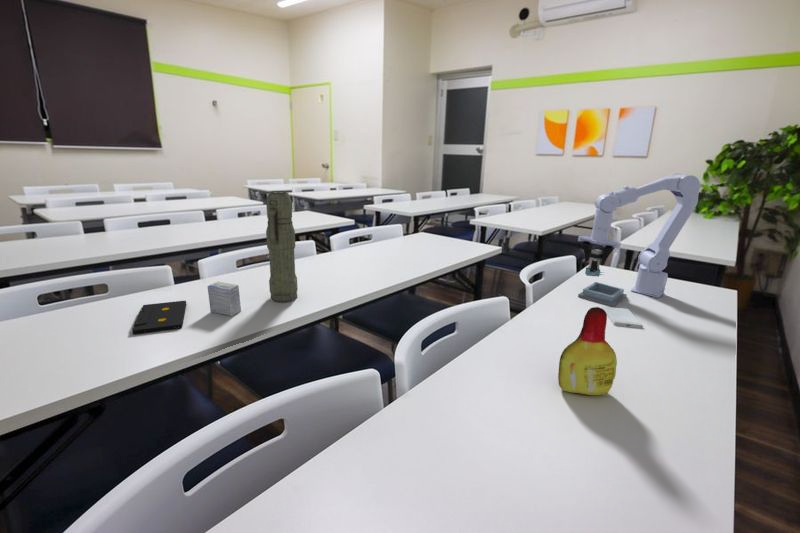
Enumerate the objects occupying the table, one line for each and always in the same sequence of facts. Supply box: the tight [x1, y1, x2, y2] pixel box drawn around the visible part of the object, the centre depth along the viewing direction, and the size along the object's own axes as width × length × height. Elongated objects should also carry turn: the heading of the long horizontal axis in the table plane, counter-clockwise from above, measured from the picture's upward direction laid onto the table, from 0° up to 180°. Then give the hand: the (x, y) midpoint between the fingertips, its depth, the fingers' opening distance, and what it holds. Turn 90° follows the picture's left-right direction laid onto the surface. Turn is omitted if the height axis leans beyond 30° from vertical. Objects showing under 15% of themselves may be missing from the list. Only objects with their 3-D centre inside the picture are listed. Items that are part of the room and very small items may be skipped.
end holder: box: [577, 281, 628, 308], centre depth 144 cm, size 12×14×3 cm
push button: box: [584, 248, 605, 278], centre depth 151 cm, size 7×5×10 cm
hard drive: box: [601, 306, 644, 329], centre depth 127 cm, size 2×8×12 cm
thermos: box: [265, 190, 298, 303], centre depth 128 cm, size 9×12×35 cm
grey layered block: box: [207, 281, 242, 317], centre depth 120 cm, size 8×4×9 cm, turn 71°
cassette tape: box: [131, 300, 187, 336], centre depth 115 cm, size 18×12×2 cm, turn 23°
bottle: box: [557, 306, 618, 396], centre depth 86 cm, size 12×6×20 cm, turn 86°
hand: (594, 262), depth 151 cm, fingers closed on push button, 5 cm apart
